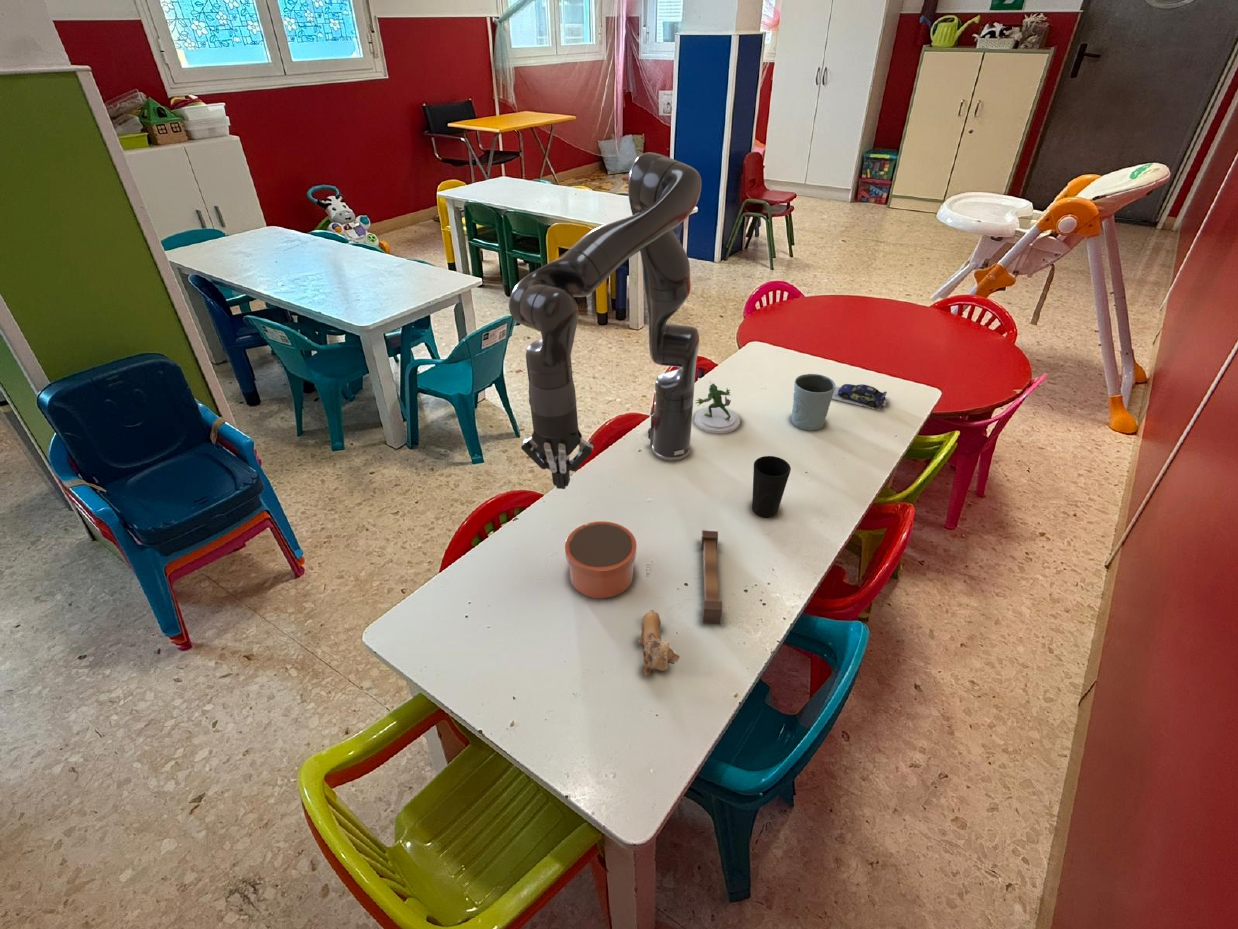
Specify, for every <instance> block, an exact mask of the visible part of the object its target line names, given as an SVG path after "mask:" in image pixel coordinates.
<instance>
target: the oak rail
mask: <svg viewBox="0 0 1238 929" xmlns="http://www.w3.org/2000/svg"><path fill="white" fill-rule="evenodd" d="M718 542H719V532H718V530H717V531H716V530H701V536H700V551H702V568H703V573H702V574H703V606H702V618H701V619H702V623H703V624H714V625H715V624H716V625H721V623H722V622H721V621H722V615H723V601H720V596H719V594H720V592H719V577H718V576H719V575H718V574H719V573H718V558H717V551H718Z"/></svg>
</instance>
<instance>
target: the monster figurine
mask: <svg viewBox="0 0 1238 929" xmlns="http://www.w3.org/2000/svg"><path fill="white" fill-rule="evenodd" d="M708 381H709V380H708ZM709 383H711V381H709ZM730 391H731V389H728V388H726V390H725V391H724V390H721V389H718V386H717V385H716V384H715V383H714V382H713V383H711V384H710V385H709V386H708V392H709V393H708V394H707V398H704V399H703V398H697V399H696V400H695V404H697V407H699V406H700V405H702V404H704V403H708V402H710V401H711V400H713V402H712V403H710V404H709V405H708V407H705V408H702V409H700V410H698V411H697V412H696V413H695V415H694V424H695V426H697V427H698V428H699V429H701V430H702V431H705V432H707V433H710V434H728V433H732V432H733V431H735V430H737V429H738V428H739V426H740V422H741V419H740V417H739V415H738V414H737V413H736V412H735V411H733V410H731V409H728V408H726V407H728V406H730V404H731V401H732V400H731V399H729V398H727V396H731V392H730ZM722 396H725V398H724V403H723V398H722Z"/></svg>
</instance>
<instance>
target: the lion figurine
mask: <svg viewBox="0 0 1238 929" xmlns="http://www.w3.org/2000/svg"><path fill="white" fill-rule="evenodd" d="M643 615H644V616H643V617H642V618H641V620H642V621H641V626H640V627H641V628H640V629H641V633H640V637H639V639H638V641H637V644H638V645H639V646H644V647H643V650H642V656H643V663H644V669H643V674H644V675H646V676H649V675H651V671H652V670H658V671H662V672H664V671H666V670H668V668H669V665H670V664H671V665H675V664H676V663H677V662H678V661H679V660H680V658H681V656H680V655H679V654H678V653H675V652H674V649H673V648H671V647H670V642H669V641H668V640H666V641H663V640H662V635H661V632H660V627H661V625H662V624H661V622H662V620H661V618H660V615H659V613H658V612H656V611H654V610H653V609H651V610H649V611H648V612H645V614H643Z"/></svg>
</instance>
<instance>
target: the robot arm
mask: <svg viewBox="0 0 1238 929" xmlns="http://www.w3.org/2000/svg"><path fill="white" fill-rule="evenodd" d="M627 189H628V190H627V192H628V193H627V194H628V201H629V207H630V211H631V214H632V215H630V216H627V217H625V218H622V219H618V220H615V221H612V222H609V223H605V224H603V225H601V226H600V225H599V227H596V228H594V229H591V231H589V232H587V233H586V234H585V235H584V236H582V237H581V238H580V239H578V240H577V242H576V243H574V244H573V246H571V247H570V248H569V249H568V250H567V251H565V253H564V254H562V256H561V257H559V258H557V259H555V260H553V261H551V262H549V263H547V264H545V265H543V266H541V267H539V268H537V269H536V270H533V271H532V272H530V273H529V274H527V275H525V277H523V278H522V279H521V280H520V281H518V282H517V284H516V285H515V286H514V288H513V289H512V292H511V294H510V296H509V300H508V310H509V313H510V316H511V317H512V318H513V320H514V321H515V322H517V323H518V324H520V325H522V326H524V327H527V328H529V329H532V330H534V331H537V332H540V333H541V338H540V339H538V340H535V341H533V342H531V343H530V344H529V345H528V347H527V348H526V352H525V363H526V371H527V379H528V401H529V402H528V404H529V406H530V413H531V414H530V416H531V424H532V433H531V436H530V437H529V436H527V437H525V438H524V440H523V442H522V443H521V446H520V448H521V450H522V452H524V453H525V454H526V455H527V457H529V458H530V459H531V460H532V461H533V462H534V463H535V464H536V465H537V466H538V467H539V468H540V469H541V470H546V469H547V470H549V471H550V472H551V478H552V479H551V480H552V484H553V486H555V487H556V489H557V490H566V487H568V486H569V483H570V481H571V475H570V474H571V473H570V471H571V472H576V471H577V470H578V469H579V468H580V467H581V466H582V464H584V462H585V461H586V460H587V459H588V458H589V457H590V456H591V455H592V453H593V450H594V447H595V443H594V441H591V440H589V441H586V440H585V439H584V438H583V434H582V432H581V430H579V420H578V408H577V394H576V393H577V392H576V387H575V383H574V378H573V365H572V350H573V346H574V341H575V336H576V331H577V326H578V322H579V308H578V304H577V301H576V298H583V297H588V296H590V295H591V294H592V293H594V292H595V291H596V290H597V289H598V288H599V287H600V286H602V284H603V283H604V282H606V280H607V279H608V278H609V277H611V275H612V274H613V273H614V272H615V271H616V270H617V269H618V268H620V266H622V265H623V264H624V263H625V262H626V261H627V260H629V259H630V258H632V257H633V256H634V255H636V254H637V253H638V252H640V258H641V268H642V270H641V271H642V281H643V289H644V294H645V301H646V302H645V303H646V308H647V315H648V348H649V349H648V350H649V355H650V359H651V361H652V362H653V363H654V364H656V365H659V366H665V367H672V368H673V367H674V368H677V369H673V370H669V371H665V372H663V373H660V374H659V375H658V376H657V377H656V379H655V382H654V400H653V401H654V404H653V406H654V407H653V413H652V414H651V416H650V428H648V429H647V439H649V440H650V442H649V443H650V444H649V448H650V449H652V453H653V455H654V456H655V457H656V458H658V459H661V460H663V461H668V462H676V461H681V460H684V459H686V458H687V457H688V456H689V455H690V452H691V437H692V423H693V408H694V396H695V394H694V393H695V384H696V383H695V381H696V370H697V362H698V353H699V346H700V334H699V330H698V329H697V328H696V327H694V326H689V325H680V324H671V323H669V324H668V323H667V322H668V321H669V320H670V318H672V316H673V315H675V313H676V312H677V311H679V309H680V308H682V306H683V305H684V304H685V303H686V301H687V299H688V297H689V295H690V292H691V284H692V283H691V264H690V260H689V256H688V255H687V253H686V250H685V248H684V246H683V245H682V244H681V242H680V239H678V237H677V235H676V233H675V232H674V231H673V229H675V228H677V227H678V226H679V225H680V224H681V223H683V222H684V221H685V220H687V219H688V217H689V216H690V215H691V214H692V212H693V211H694V209H695V208H696V206H697V204H698V202H699V200H700V197H701V193H702V177H701V175H700V172H699V171H698V170H697V169H695V168H694V167H693V166H690V165H689V164H687V163H684V162H681V161H679V160H676V159H674V158H671V157H669V156H666V155H664V154H660V153H656V152H643V153H641V154H640V155H639V156H637V158H636V159H635V160H634V162H633V164H632V166H631V168H630V171H629V175H628V182H627ZM577 447H578V452H577V453H576V455H574V457H573V458H572V459H570V455H571V454H572V453H573V452H574V451H575V449H577Z"/></svg>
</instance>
